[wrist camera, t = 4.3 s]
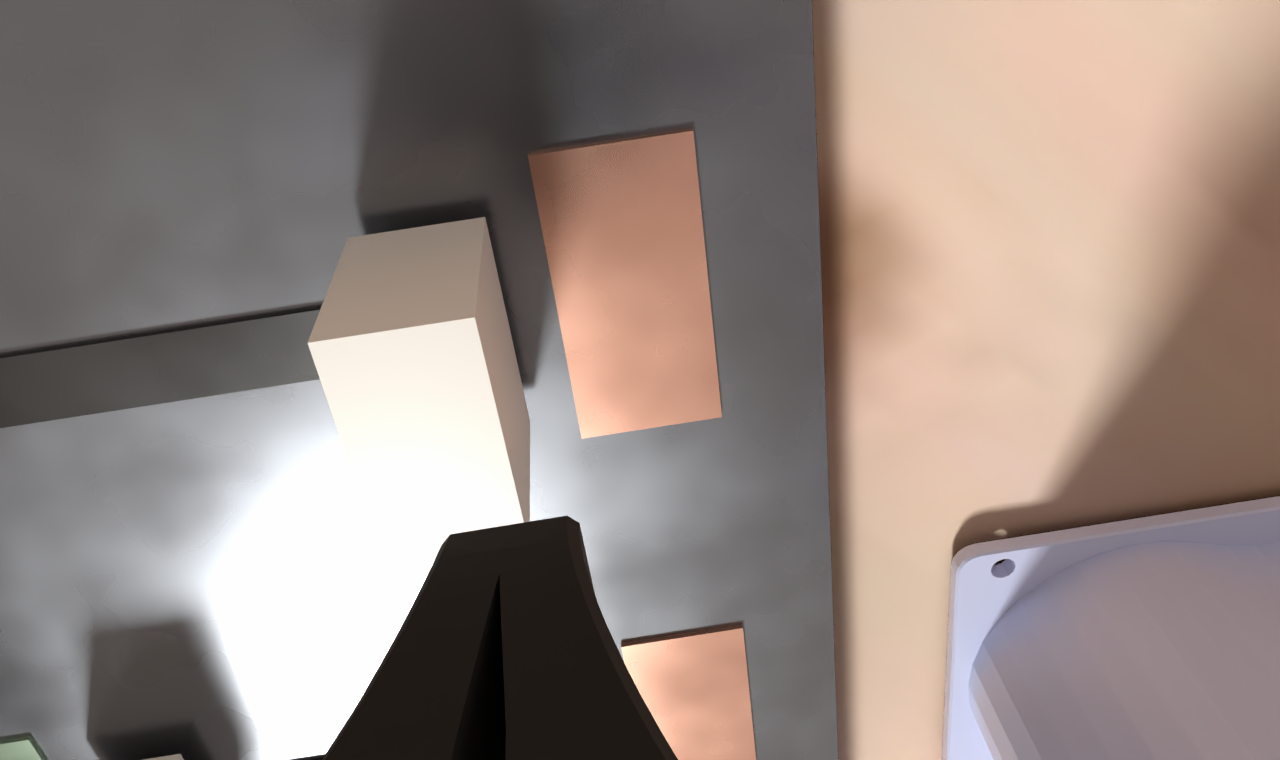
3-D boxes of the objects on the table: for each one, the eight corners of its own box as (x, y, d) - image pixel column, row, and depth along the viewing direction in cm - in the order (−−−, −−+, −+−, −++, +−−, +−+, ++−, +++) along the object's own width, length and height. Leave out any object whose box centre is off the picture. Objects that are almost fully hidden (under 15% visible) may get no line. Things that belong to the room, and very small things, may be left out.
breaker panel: (770, -253, 14) (804, -254, 12) (823, 818, 27) (843, 894, 25) (-682, -38, 14) (-861, -8, 12) (62, 939, 27) (28, 1024, 25)
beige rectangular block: (485, 216, 15) (474, 317, 12) (530, 421, 17) (529, 546, 14) (347, 237, 15) (307, 342, 12) (408, 439, 17) (385, 569, 14)
